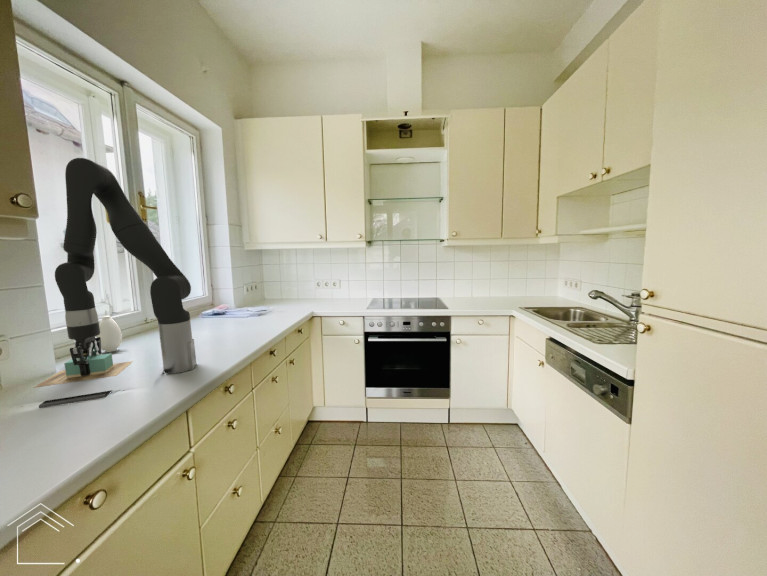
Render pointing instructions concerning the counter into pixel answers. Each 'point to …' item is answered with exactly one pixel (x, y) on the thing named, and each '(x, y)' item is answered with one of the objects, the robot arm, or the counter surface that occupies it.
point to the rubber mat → (74, 399)
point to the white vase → (109, 334)
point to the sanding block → (91, 365)
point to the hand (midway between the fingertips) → (90, 371)
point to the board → (62, 378)
